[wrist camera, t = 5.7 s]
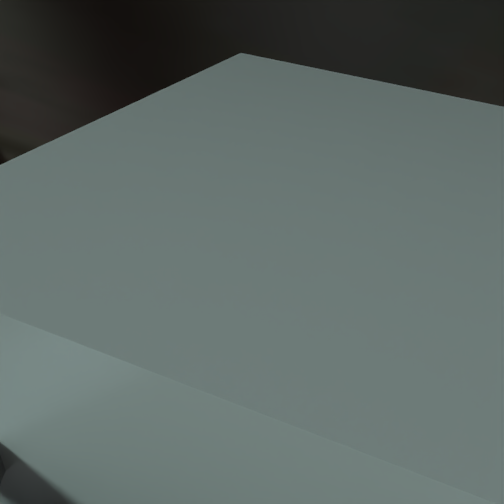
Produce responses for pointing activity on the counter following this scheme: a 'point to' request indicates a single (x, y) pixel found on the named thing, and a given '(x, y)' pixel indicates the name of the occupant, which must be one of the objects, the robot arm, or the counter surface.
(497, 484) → the grey rectangular block
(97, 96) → the counter surface
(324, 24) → the counter surface
